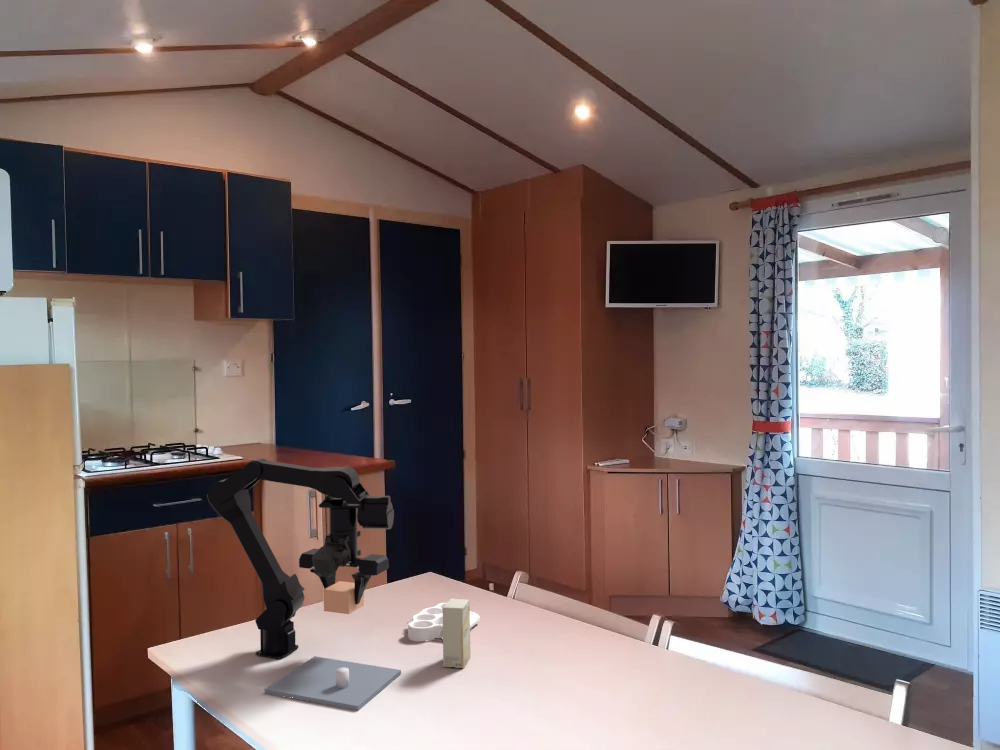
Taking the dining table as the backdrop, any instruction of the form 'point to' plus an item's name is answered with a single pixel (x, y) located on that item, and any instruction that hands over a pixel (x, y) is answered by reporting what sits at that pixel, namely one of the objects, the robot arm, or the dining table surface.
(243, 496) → the robot arm
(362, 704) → the base plate
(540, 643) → the dining table surface
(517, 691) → the dining table surface
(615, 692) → the dining table surface
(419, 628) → the white egg tray
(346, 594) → the orange block
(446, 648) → the skincare box
